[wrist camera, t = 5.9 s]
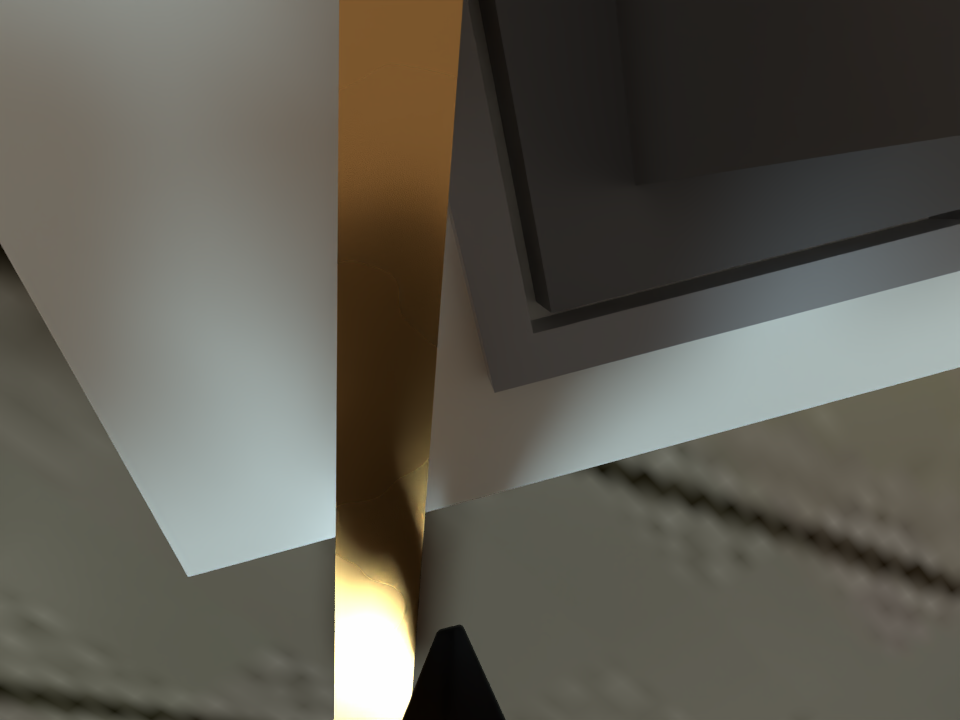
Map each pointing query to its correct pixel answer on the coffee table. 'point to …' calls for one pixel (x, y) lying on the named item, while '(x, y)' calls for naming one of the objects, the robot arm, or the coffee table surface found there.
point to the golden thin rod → (387, 330)
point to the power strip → (313, 280)
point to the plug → (717, 130)
